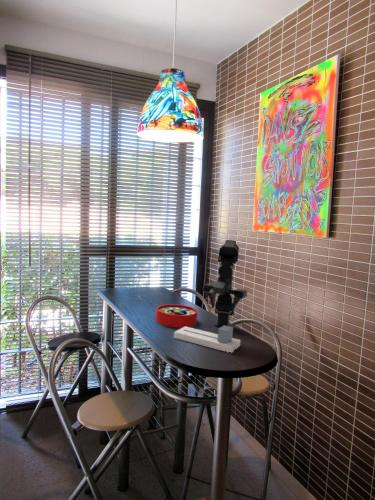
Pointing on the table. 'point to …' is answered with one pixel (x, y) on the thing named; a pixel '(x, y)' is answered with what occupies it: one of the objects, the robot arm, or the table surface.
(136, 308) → the table surface
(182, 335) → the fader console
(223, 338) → the fader tab
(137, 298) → the table surface
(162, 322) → the red round tin
